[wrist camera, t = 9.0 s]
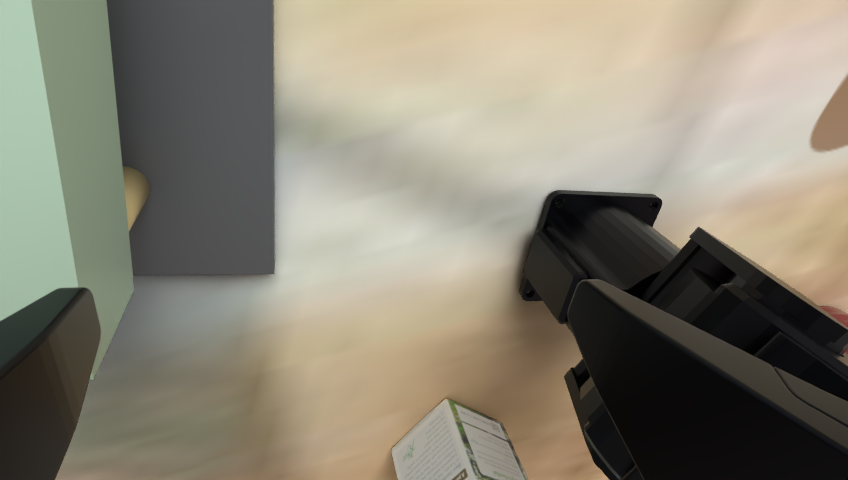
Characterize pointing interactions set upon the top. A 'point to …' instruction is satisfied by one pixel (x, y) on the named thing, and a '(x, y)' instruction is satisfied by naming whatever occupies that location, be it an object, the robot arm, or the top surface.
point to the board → (61, 160)
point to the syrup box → (456, 448)
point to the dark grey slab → (196, 133)
